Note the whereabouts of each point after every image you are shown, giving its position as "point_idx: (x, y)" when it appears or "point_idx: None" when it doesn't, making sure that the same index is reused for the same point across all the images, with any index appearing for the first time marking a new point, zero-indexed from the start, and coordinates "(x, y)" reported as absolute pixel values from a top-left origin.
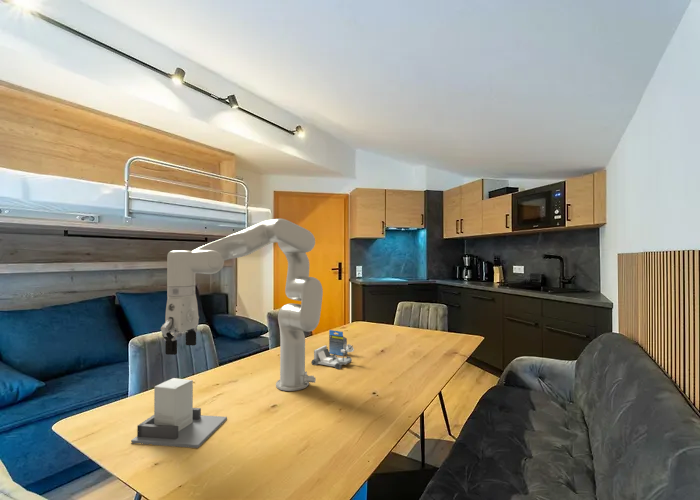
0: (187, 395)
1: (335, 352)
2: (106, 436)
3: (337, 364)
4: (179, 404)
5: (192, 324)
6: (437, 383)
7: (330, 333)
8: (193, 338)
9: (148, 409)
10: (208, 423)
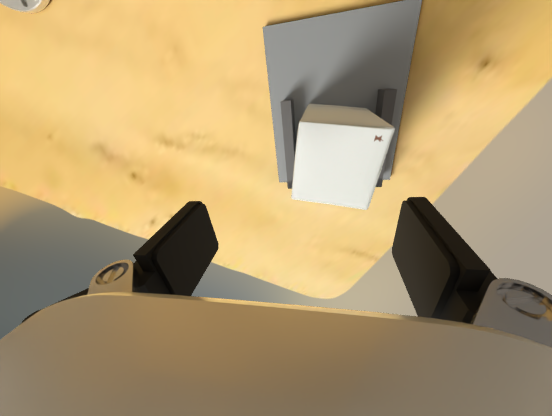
0: (329, 114)
1: None
2: (363, 229)
3: None
4: (362, 115)
5: (163, 364)
6: None
7: None
8: (183, 234)
9: (267, 228)
10: (306, 56)
